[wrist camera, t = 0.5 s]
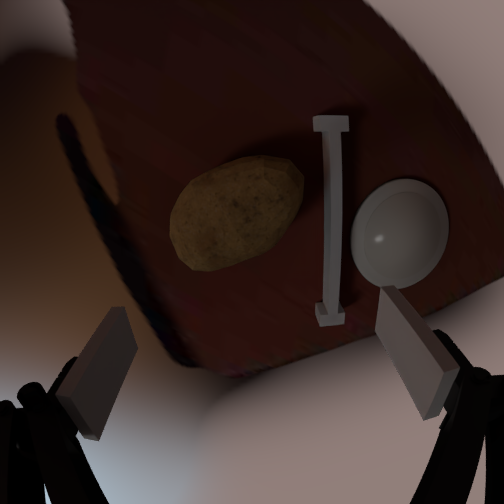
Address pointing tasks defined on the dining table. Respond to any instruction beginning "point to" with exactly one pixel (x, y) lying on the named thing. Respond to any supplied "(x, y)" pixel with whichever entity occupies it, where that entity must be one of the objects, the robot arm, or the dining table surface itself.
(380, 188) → the plate
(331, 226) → the rail
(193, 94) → the dining table surface
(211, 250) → the potato
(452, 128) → the dining table surface
